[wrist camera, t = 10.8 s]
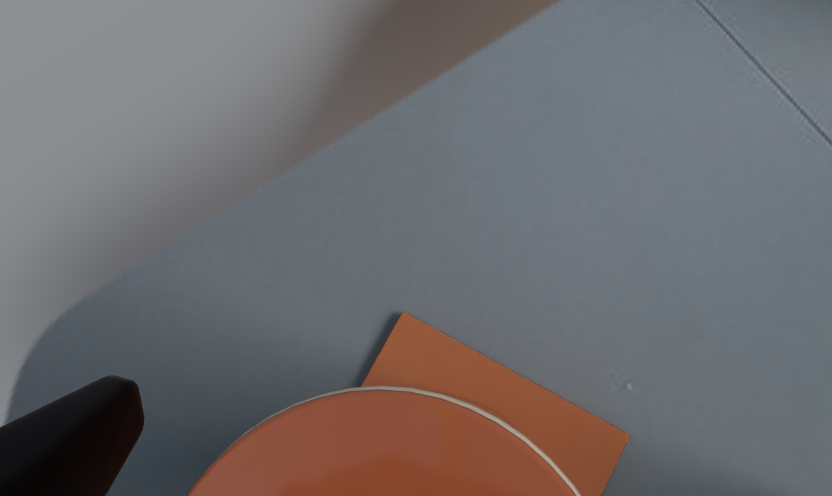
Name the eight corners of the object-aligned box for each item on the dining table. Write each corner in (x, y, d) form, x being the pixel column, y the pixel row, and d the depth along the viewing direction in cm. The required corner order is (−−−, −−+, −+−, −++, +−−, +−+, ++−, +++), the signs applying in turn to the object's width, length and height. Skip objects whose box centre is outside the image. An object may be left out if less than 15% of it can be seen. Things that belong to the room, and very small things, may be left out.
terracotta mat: (508, 684, 18) (509, 690, 18) (281, 534, 20) (276, 537, 20) (627, 434, 20) (630, 435, 19) (403, 312, 21) (402, 311, 21)
